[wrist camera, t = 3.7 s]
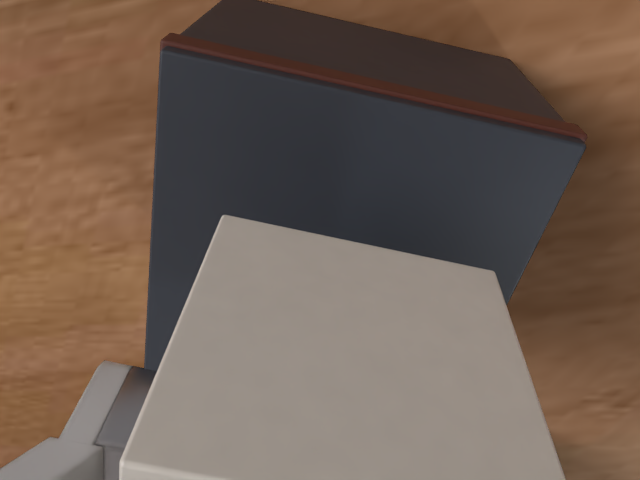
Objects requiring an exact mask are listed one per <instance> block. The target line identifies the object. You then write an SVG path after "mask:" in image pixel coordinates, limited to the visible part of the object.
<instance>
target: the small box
mask: <svg viewBox="0 0 640 480" xmlns="http://www.w3.org/2000/svg"><path fill="white" fill-rule="evenodd" d="M119 480H566V479H565V476H564V473H563V470H562V467H561V464H560V461H559V458H558V455H557V452H556V449H555V446H554V443H553V440H552V438H551V435H550V432H549V429H548V426H547V423H546V420H545V417H544V414H543V411H542V408H541V405H540V402H539V400H538V397H537V394H536V391H535V388H534V385H533V382H532V379H531V376H530V373H529V370H528V367H527V364H526V361H525V359H524V356H523V353H522V350H521V347H520V344H519V341H518V338H517V335H516V332H515V329H514V326H513V323H512V321H511V318H510V315H509V312H508V309H507V306H506V303H505V300H504V297H503V294H502V291H501V288H500V285H499V283H498V280H497V277H496V274H495V272H494V271H491V270H486V269H482V268H477V267H472V266H467V265H462V264H458V263H453V262H448V261H443V260H439V259H434V258H429V257H424V256H420V255H415V254H410V253H405V252H401V251H396V250H391V249H386V248H382V247H377V246H372V245H367V244H363V243H358V242H353V241H348V240H343V239H339V238H334V237H329V236H324V235H320V234H315V233H310V232H305V231H301V230H296V229H291V228H286V227H282V226H277V225H272V224H267V223H263V222H258V221H253V220H248V219H243V218H239V217H234V216H229V215H222V217H221V219H220V221H219V224H218V226H217V228H216V231H215V233H214V236H213V238H212V240H211V243H210V245H209V248H208V250H207V252H206V255H205V257H204V260H203V262H202V264H201V267H200V269H199V272H198V274H197V276H196V279H195V281H194V284H193V286H192V288H191V291H190V293H189V296H188V298H187V300H186V303H185V305H184V308H183V310H182V313H181V315H180V317H179V320H178V322H177V325H176V327H175V329H174V332H173V334H172V337H171V339H170V341H169V344H168V346H167V349H166V351H165V353H164V356H163V358H162V361H161V363H160V365H159V368H158V370H157V373H156V375H155V377H154V380H153V382H152V385H151V387H150V389H149V392H148V394H147V397H146V399H145V401H144V404H143V406H142V409H141V411H140V413H139V416H138V418H137V421H136V423H135V426H134V428H133V430H132V433H131V435H130V438H129V440H128V442H127V445H126V447H125V450H124V452H123V454H122V457H121V459H120V462H119Z"/></svg>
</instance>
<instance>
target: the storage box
mask: <svg viewBox="0 0 640 480" xmlns="http://www.w3.org/2000/svg"><path fill="white" fill-rule="evenodd" d="M586 139H587V135H586V134H585V133H584V132H583V130H582V129H581V128H580V127H579V126H578V125H576V124H572V123H567V122H565V121H564V120H563V119H562V117H561V116H560V115H559V114H558V113H557V112H556V111H555V110H554V108H553V107H552V106H551V105H550V104H549V103H548V102H547V101H546V100H545V98H544V97H543V96H542V95H541V94H540V93H539V92H538V91H537V89H536V88H535V87H534V86H533V85H532V84H531V83H530V82H529V80H528V79H527V78H526V77H525V76H524V75H523V74H522V73H521V71H520V70H519V69H518V68H517V67H516V66H515V65H514V64H513V63H512V61H511V60H510V59H506V58H502V57H498V56H493V55H489V54H485V53H481V52H476V51H472V50H468V49H463V48H459V47H455V46H450V45H446V44H442V43H438V42H433V41H429V40H425V39H420V38H416V37H412V36H407V35H403V34H399V33H395V32H390V31H386V30H382V29H377V28H373V27H369V26H364V25H360V24H356V23H351V22H347V21H343V20H339V19H334V18H330V17H326V16H321V15H317V14H313V13H308V12H304V11H300V10H296V9H291V8H287V7H283V6H278V5H274V4H270V3H265V2H261V1H257V0H222V1H220V2H219V3H218V4H217V5H215V6H214V7H213V8H212V9H211V10H209V11H208V12H207V13H206V14H204V15H203V16H202V17H201V18H200V19H198V20H197V21H196V22H195V23H193V24H192V25H191V26H190V27H188V28H187V29H186V30H185V31H184V32H182V33H181V34H180V35H179V34H174V33H169V34H168V35H167V36H166V37H164V38H163V39H162V40H161V44H160V64H159V84H158V104H157V124H156V143H155V163H154V183H153V203H152V223H151V243H150V263H149V283H148V303H147V323H146V343H145V363H144V369H149V370H154V371H157V370H158V368H159V365H160V363H161V361H162V358H163V356H164V353H165V351H166V349H167V346H168V344H169V341H170V339H171V337H172V334H173V332H174V329H175V327H176V325H177V322H178V320H179V317H180V315H181V313H182V310H183V308H184V305H185V303H186V300H187V298H188V296H189V293H190V291H191V288H192V286H193V284H194V281H195V279H196V276H197V274H198V272H199V269H200V267H201V264H202V262H203V260H204V257H205V255H206V252H207V250H208V248H209V245H210V243H211V240H212V238H213V236H214V233H215V231H216V228H217V226H218V224H219V221H220V219H221V217H222V215H229V216H234V217H239V218H243V219H248V220H253V221H258V222H263V223H267V224H272V225H277V226H282V227H286V228H291V229H296V230H301V231H305V232H310V233H315V234H320V235H324V236H329V237H334V238H339V239H343V240H348V241H353V242H358V243H363V244H367V245H372V246H377V247H382V248H386V249H391V250H396V251H401V252H405V253H410V254H415V255H420V256H424V257H429V258H434V259H439V260H443V261H448V262H453V263H458V264H462V265H467V266H472V267H477V268H482V269H486V270H491V271H494V272H495V274H496V277H497V280H498V283H499V285H500V288H501V291H502V294H503V297H504V300H505V303H506V306H507V304H508V302H509V300H510V298H511V296H512V294H513V292H514V290H515V288H516V286H517V284H518V282H519V280H520V278H521V276H522V274H523V272H524V270H525V268H526V266H527V264H528V262H529V260H530V258H531V256H532V254H533V252H534V250H535V248H536V246H537V244H538V242H539V240H540V238H541V236H542V234H543V232H544V230H545V228H546V226H547V224H548V222H549V220H550V218H551V216H552V214H553V212H554V210H555V208H556V206H557V204H558V202H559V200H560V198H561V196H562V194H563V192H564V190H565V188H566V186H567V185H568V183H569V181H570V179H571V177H572V175H573V173H574V171H575V169H576V167H577V165H578V163H579V161H580V159H581V157H582V155H583V153H584V151H585V149H586V144H585V141H586Z"/></svg>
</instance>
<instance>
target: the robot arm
mask: <svg viewBox="0 0 640 480" xmlns="http://www.w3.org/2000/svg"><path fill="white" fill-rule="evenodd" d="M156 373H157V371H154V370H149V369H144V368H140V367H135V366H129V365H125V364H120V363H115V362H110V361H105V360H104V361H103V362H102V363H101V364H100V365H99V366H98V367H97V369H96V371H95V373H94V375H93V376H92V378H91V380H90V382H89V384H88V386H87V387H86V389H85V391H84V393H83V395H82V397H81V398H80V400H79V402H78V404H77V406H76V408H75V409H74V411H73V413H72V415H71V417H70V419H69V420H68V422H67V424H66V426H65V428H64V430H63V431H62V433H61V435H60V437H59V438H53V437H49V438H47V439H46V440H44V441H43V442H41V443H39V444H38V445H36V446H35V447H33V448H32V449H30V450H29V451H27V452H25V453H24V454H22V455H21V456H19V457H18V458H16V459H15V460H13V461H11V462H10V463H8V464H7V465H5V466H4V467H2V468H1V469H0V480H119V462H120V459H121V457H122V454H123V452H124V450H125V447H126V445H127V442H128V440H129V438H130V435H131V433H132V430H133V428H134V426H135V423H136V421H137V418H138V416H139V413H140V411H141V409H142V406H143V404H144V401H145V399H146V397H147V394H148V392H149V389H150V387H151V385H152V382H153V380H154V377H155V375H156Z"/></svg>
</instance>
